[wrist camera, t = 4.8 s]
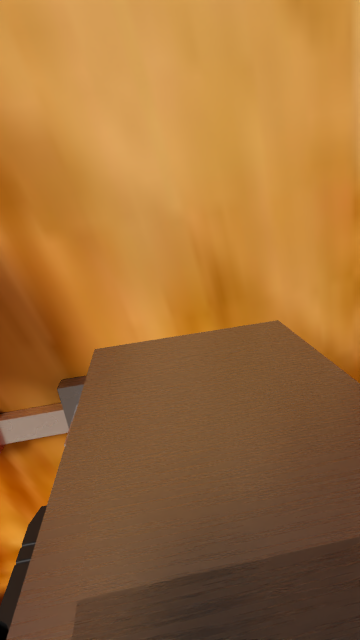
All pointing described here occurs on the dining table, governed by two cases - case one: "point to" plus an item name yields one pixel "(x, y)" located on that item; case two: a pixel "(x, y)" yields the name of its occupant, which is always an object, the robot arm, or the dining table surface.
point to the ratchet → (43, 416)
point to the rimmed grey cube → (203, 497)
